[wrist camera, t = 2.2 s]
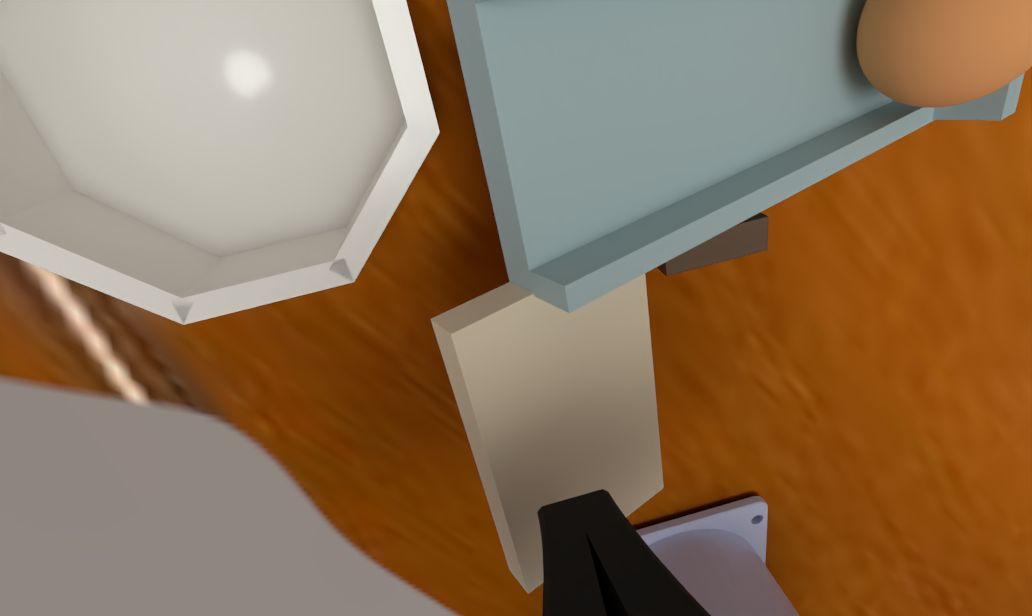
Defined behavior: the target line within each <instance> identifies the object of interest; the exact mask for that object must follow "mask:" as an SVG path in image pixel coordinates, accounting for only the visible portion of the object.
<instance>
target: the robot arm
mask: <svg viewBox="0 0 1032 616" xmlns="http://www.w3.org/2000/svg"><path fill="white" fill-rule="evenodd" d="M537 514H538V518H539V523H540V530H541V538H542V551H543V616H799V614H798V613H797V611H796V610H795V608H794V607H793V605H792V604H791V602H790V601H789V599H788V598H787V596H786V595H785V593H784V592H783V591H782V589H781V588H780V586H779V585H778V583H777V582H776V580H775V579H774V577H773V576H772V574H771V573H770V571H769V570H768V568H767V567H766V565H765V563H766V541H767V519H768V505H767V503H766V502H765V501H764V499H763V498H762V497H759V496H752V497H749V498H745V499H742V500H738V501H735V502H732V503H728V504H725V505H721V506H718V507H714V508H711V509H707V510H704V511H701V512H697V513H694V514H690V515H687V516H683V517H680V518H676V519H673V520H669V521H666V522H663V523H659V524H656V525H652V526H649V527H645V528H642V529H638V530H635V529H634V528H633V526H632V525H631V524H630V522H629V521H628V520H627V518H626V517H625V516H624V514H623V513H622V511H621V510H620V508H619V507H618V506H617V504H616V503H615V501H614V500H613V498H612V497H611V495H610V493H609V492H608V491H606V490H604V489H601V490H597V491H594V492H590V493H587V494H583V495H580V496H576V497H573V498H569V499H566V500H562V501H559V502H555V503H551V504H548V505H544V506H542V507H541V508H540V509H539V510H538V512H537Z"/></svg>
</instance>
